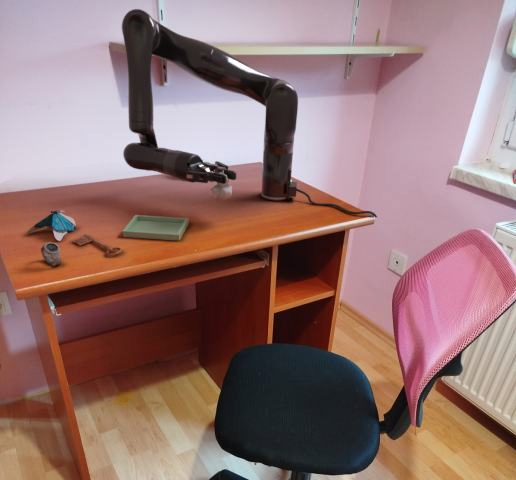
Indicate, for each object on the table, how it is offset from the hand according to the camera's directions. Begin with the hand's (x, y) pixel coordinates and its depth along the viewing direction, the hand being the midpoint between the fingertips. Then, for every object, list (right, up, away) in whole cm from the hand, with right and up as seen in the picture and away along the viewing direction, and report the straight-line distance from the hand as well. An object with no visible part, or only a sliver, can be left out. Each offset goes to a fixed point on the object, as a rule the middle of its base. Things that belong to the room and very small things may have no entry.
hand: (230, 177), depth 129 cm
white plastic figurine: (-3, -4, +5) cm, 7 cm away
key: (-33, -21, -9) cm, 40 cm away
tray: (-20, -14, +2) cm, 24 cm away
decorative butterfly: (-46, -15, -2) cm, 48 cm away
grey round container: (-40, -26, -17) cm, 51 cm away
